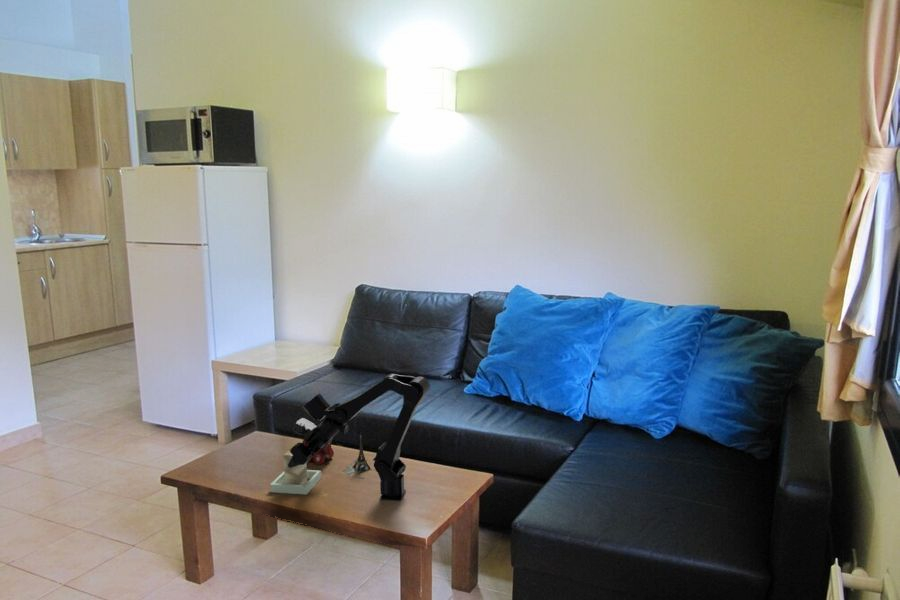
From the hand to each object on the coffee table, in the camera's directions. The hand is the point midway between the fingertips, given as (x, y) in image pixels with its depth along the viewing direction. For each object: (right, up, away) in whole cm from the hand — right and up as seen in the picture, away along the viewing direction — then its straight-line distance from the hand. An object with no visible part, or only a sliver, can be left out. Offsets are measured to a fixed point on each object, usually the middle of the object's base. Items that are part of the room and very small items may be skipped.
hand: (295, 461), depth 213 cm
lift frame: (0, -8, +1) cm, 8 cm away
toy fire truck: (+3, -5, +22) cm, 23 cm away
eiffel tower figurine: (+19, -7, +14) cm, 24 cm away
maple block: (0, -8, +1) cm, 8 cm away
